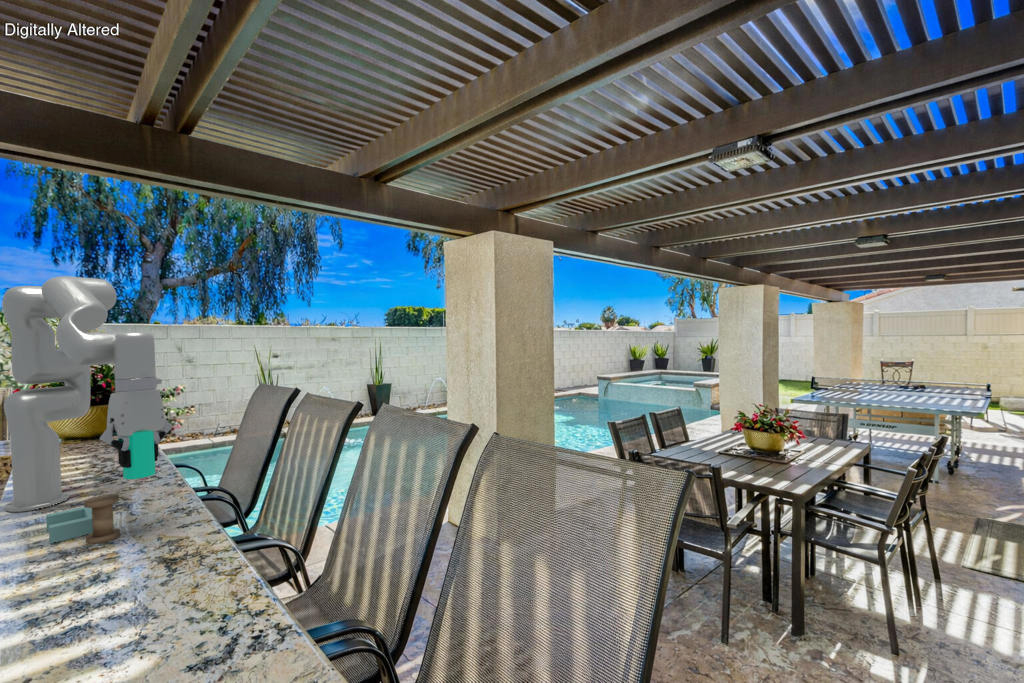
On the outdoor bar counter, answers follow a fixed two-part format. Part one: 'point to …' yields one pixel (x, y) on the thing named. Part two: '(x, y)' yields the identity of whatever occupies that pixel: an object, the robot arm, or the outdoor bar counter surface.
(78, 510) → the notch board
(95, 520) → the bobbin
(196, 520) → the outdoor bar counter surface
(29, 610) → the outdoor bar counter surface
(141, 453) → the candle
